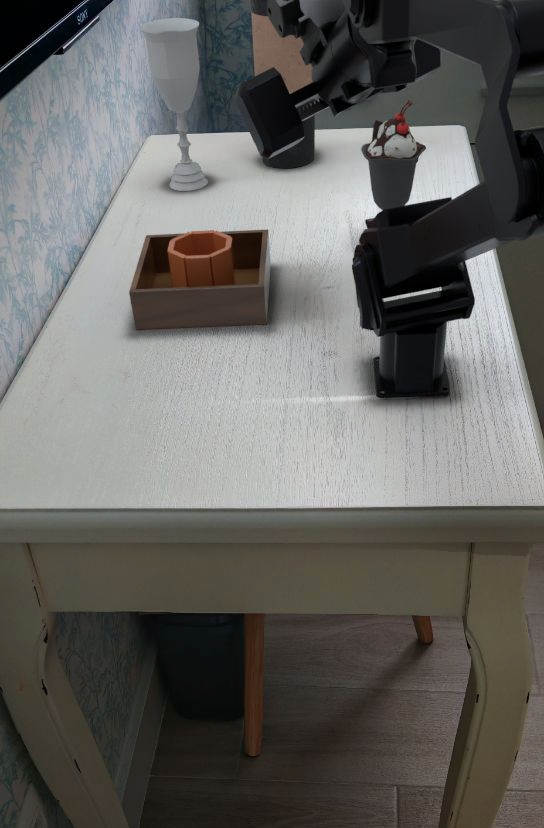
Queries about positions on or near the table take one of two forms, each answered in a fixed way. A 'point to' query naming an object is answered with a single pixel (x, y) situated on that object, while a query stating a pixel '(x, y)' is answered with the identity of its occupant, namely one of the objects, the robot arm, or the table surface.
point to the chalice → (176, 84)
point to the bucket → (202, 259)
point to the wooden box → (202, 288)
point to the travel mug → (294, 73)
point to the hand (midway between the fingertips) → (316, 109)
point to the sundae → (392, 161)
